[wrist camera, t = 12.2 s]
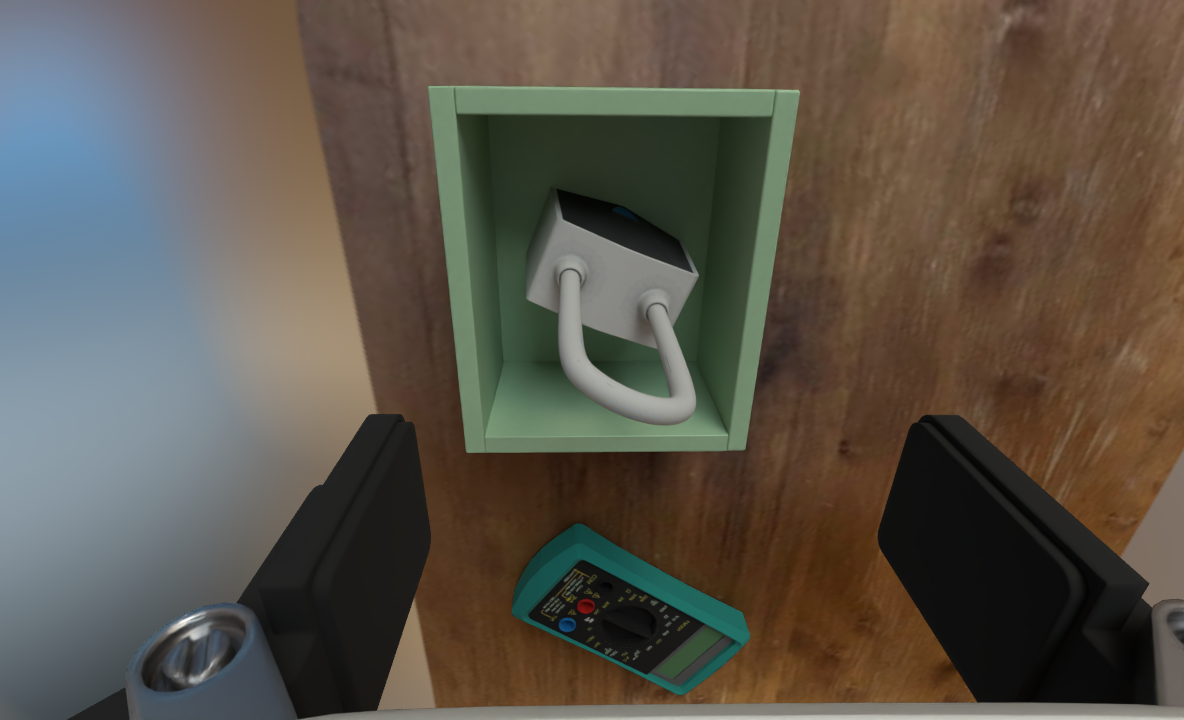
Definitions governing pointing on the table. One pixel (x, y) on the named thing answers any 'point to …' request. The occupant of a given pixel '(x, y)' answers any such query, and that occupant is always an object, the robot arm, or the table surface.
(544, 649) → the table surface
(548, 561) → the digital multimeter
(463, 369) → the holder
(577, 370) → the padlock
